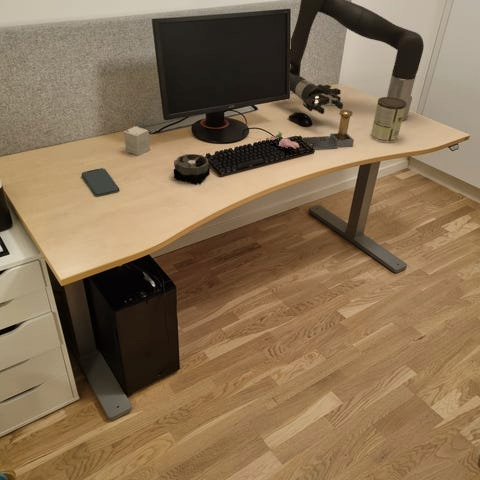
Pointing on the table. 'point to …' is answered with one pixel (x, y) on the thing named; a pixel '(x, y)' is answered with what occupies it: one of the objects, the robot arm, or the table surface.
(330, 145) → the grey tray fixture
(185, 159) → the cpu cooler
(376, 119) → the coffee can
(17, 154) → the table surface
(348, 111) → the hinge pin
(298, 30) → the robot arm
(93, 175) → the smartphone
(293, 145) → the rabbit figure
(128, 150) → the skincare box
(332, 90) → the end cap
